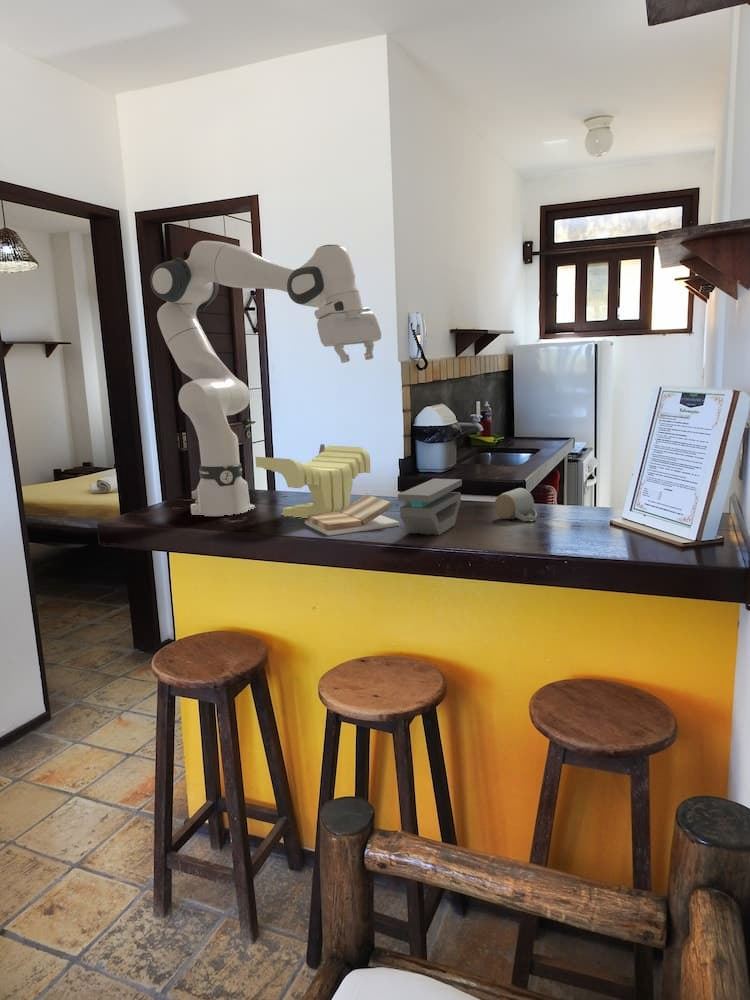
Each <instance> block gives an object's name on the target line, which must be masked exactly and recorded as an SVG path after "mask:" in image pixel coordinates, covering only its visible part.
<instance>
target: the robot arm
mask: <svg viewBox="0 0 750 1000" xmlns="http://www.w3.org/2000/svg"><path fill="white" fill-rule="evenodd" d="M189 252H190V253H189V257H188V258H187V259H185V260H184V259H182V258H181V257H176V258H174V259H172V260H169V261H166V262H165V261H164V262H162V263H159V264H157V265H156V266H155V267H154V268H153V270H152V272H151V274H150V279H149V280H150V288H151V290H152V292H153V293H154V295H155V296H156V297H157V298H159V299H160V300H163V301H165V303H164V304H162V305H161V306H160V307H159V308H158V310H157V314H156V317H157V322H158V326H159V329H160V331H161V334H162V336H163V338H164V342H165V344H166V345H167V348H168V349H169V351H170V353H171V355H172V358H173V359H174V362H175V363H176V365H177V367H178V368H179V370H180V372H182V373H183V374H185V375H186V376H187V377H188V378H190V379H191V381H189V382H186V383H185V384H183V386H181V388H180V389H179V392H178V404H179V407H180V409H181V411H182V412H183V413H185V414H186V415H187V417H188V418H189V419H190V421H191V423H192V425H193V426H194V429H195V433H196V436H197V439H198V445H199V455H200V465H199V477H200V480H199V482H198V484H197V486H196V489H194V490H192V491H191V499H193V500H195V501H194V503H191V504H190V515H191V514H192V515H204V516H203V517H225V516H224V515H228V516H233V514H235V515H240V513H241V514H244V513H247V512H248V510H249V511H251V509H252V510H254V508H255V509H256V505H255V504H252V503H250V494H249V486H248V482H247V481H246V479H244V478H243V477H242V476H243V468H242V463H241V462H240V450H239V449H240V447H239V438H238V436H237V434H236V433H235V432H234V431H233V430H232V429H231V426H230V424H229V421H228V418H227V416H233V415H237V414H238V413H241V412H242V411H243V410H245V409H246V408H247V407H248V406H249V405H250V401H251V394H250V393H251V392H250V390H249V387H248V385H246V383H245V382H243V381H242V380H241V379H239V378H237V377H236V376H235V375H234V373H233V372H231V370H229V369H228V367H227V366H226V364H224V363H223V361H222V360H221V359H220V357H219V356H218V355H217V353H216V351H215V350H214V348H213V346H212V344H211V343H210V340H208V337H207V335H206V334H205V332H204V330H203V327H202V326H201V324H200V322H199V319H198V318H197V317H198V316H197V313H198V312H199V313H200V312H201V313H202V312H203V311H205V310H206V308H207V307H208V306H209V305H210V304H211V303H212V302H213V301H214V300H215V299H216V297H217V295H218V294H219V289H220V287H219V286H220V285H222V286H225V287H230V288H234V289H237V288H238V289H254V290H255V289H260V290H261V289H262V290H263V289H264V290H277V291H281V292H285V293H287V295H288V296H289V298H290V299H291V301H292V302H294V303H296V304H298V305H299V306H300V305H301V306H305V307H312V308H318V309H315V311H314V316H315V318H316V320H317V323H316V326H317V331H318V335H319V336H318V337H319V339H320V342H321V344H322V345H323V346H324V347H326V348H327V347H333V348H334V349H333V350H334V351H335V352H336V354H337V355H338V356H339V359H340V362H341V363H342V364H344V363H349V362H351V361H350V355H349V353H346V351H345V349H344V348H345V346H348V345H349V346H351V345H359V344H363V346H364V348H365V349H366V350H365V353H363V355H364V359H365V361H371V360H372V359H374V354H373V353H374V352H373V351H374V345H375V344H374V342H378V341H380V340H381V339H382V332H381V329H380V328H381V327H380V325H379V322H378V320H377V318H376V316H375V314H374V312H373V310H371V308H369V307H367V306H365V307H364V306H363V303H362V299H361V295H360V291H359V289H358V287H357V285H356V274H355V271H354V267H353V263H352V259H351V257H350V255H349V252H348V250H347V249H346V247H344V246H341V245H339V244H324V245H321V246H319V247H317V248H316V249H315V251H314V254H313V255H312V256H311V257H310V258H309V259H308V260H307V261H306V262H305V263H304V264H303V265H302V266H300V267H299V268H296V269H291V268H288V267H286V266H285V267H284V266H282V265H279V264H277V263H275V262H272V261H270V260H268V259H266V258H264V257H262V256H260V255H259V254H256V253H254V252H252V251H250V250H248V249H246V248H243V247H241V246H238V245H236V244H232V243H228V242H222V241H217V240H201V241H197V242H196V243H195V244H194V245H193V246H192V247H191V249H190V251H189ZM192 515H191V516H192Z"/></svg>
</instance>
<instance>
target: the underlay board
mask: <svg viewBox="0 0 750 1000" xmlns="http://www.w3.org/2000/svg"><path fill="white" fill-rule="evenodd" d="M305 524H306V525H305ZM400 524H401V523H400V521H398V520H396V519H393V518H391V517H387V516H385V515H383V514H381V515H379V516H378V517H376V518H375V519H373V520H372V521H370V522H369V523H367V524H366V525H363V524H361V526H360V527H352V528H345V529H338V530H331V531H328V530H326V529H324V528H322V527H319V526H317V525H315V524H313V523H311V522H309V521H308V519H305V520H304V525H305V526H307V525H308V526H307V527H310V528H312V529H314V530H316V531H318V532H319V533H322V534H324V535H326V536H336V535H342V534H350V533H359V532H362V531H363V532H364V531H371V530H378V529H385V528H393V527H394V528H395V527H400V526H401V525H400Z"/></svg>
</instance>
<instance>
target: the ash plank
mask: <svg viewBox="0 0 750 1000" xmlns="http://www.w3.org/2000/svg"><path fill="white" fill-rule="evenodd" d="M391 508H393V504H392V502H391V501H388V500H386V499H383V498H380V497H376V496H373V495H370V494H368V493H367V494H365V495H363V496H361V497H360V498H359V499H357V500H355V501H354V502H352V503H350V505H349V506H348V507H346V508H344V509H343V510H341V511H340V512H341V513H344V514H346V515H349V516H351V517H354V518H356V519H359V520H361V524H363V525H366V524H367V523H369V522H370V521H372V520H373V519H375V518H376V517H378V516H379V515H383V514H384V513H386V512H388V511H389V510H390V509H391Z"/></svg>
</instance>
